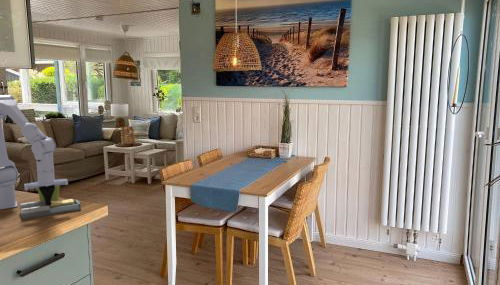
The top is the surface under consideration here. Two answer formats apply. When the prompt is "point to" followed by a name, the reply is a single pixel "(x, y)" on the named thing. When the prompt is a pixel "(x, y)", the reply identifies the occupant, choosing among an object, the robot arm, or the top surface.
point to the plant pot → (54, 196)
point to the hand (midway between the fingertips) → (48, 205)
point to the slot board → (34, 209)
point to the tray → (66, 208)
